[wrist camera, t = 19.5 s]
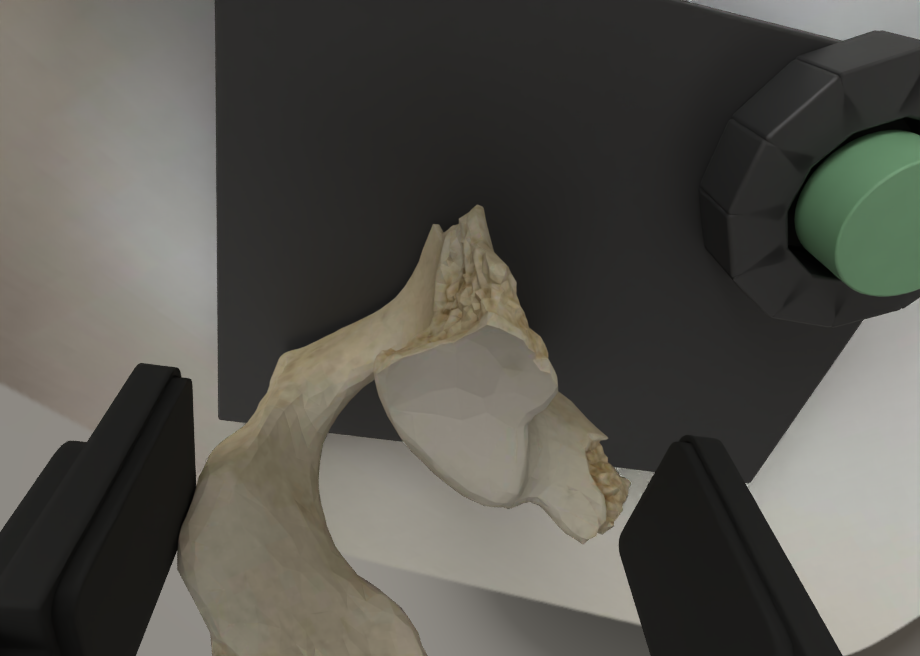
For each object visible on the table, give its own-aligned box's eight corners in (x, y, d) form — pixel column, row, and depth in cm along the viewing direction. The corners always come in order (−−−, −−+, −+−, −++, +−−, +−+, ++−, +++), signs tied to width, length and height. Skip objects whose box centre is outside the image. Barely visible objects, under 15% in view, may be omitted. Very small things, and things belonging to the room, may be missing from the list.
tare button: (968, 144, 12) (1035, 172, 10) (883, 270, 13) (932, 308, 12) (841, 115, 11) (894, 141, 10) (768, 248, 13) (806, 284, 12)
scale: (985, 57, 13) (1113, 89, 11) (731, 451, 20) (775, 527, 18) (234, -137, 11) (178, -153, 8) (231, 387, 18) (199, 465, 15)
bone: (720, 216, 12) (775, 870, 7) (586, 342, 18) (573, 756, 13) (276, 103, 11) (30, 814, 6) (288, 278, 16) (163, 714, 12)
